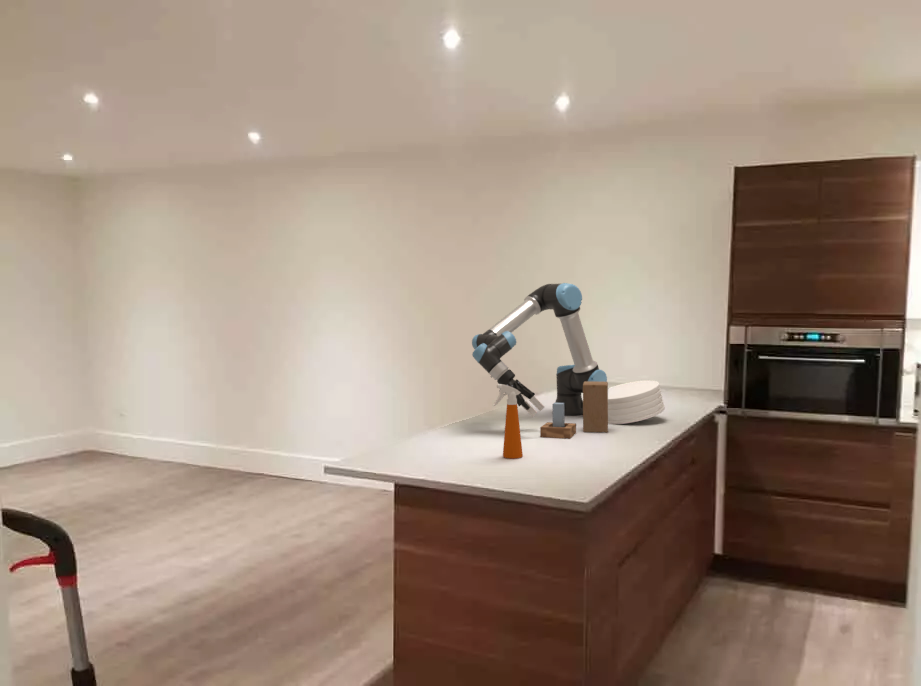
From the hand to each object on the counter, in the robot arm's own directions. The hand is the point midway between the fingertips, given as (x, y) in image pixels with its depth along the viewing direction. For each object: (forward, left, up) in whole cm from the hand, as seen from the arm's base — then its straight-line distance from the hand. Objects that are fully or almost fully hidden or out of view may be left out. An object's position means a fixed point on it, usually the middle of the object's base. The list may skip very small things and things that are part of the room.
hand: (538, 411), depth 306 cm
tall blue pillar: (-7, +4, -9) cm, 12 cm away
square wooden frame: (-7, +4, -9) cm, 12 cm away
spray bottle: (+22, +38, -9) cm, 45 cm away
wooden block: (-25, -2, -9) cm, 27 cm away
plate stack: (-49, -21, -7) cm, 54 cm away
